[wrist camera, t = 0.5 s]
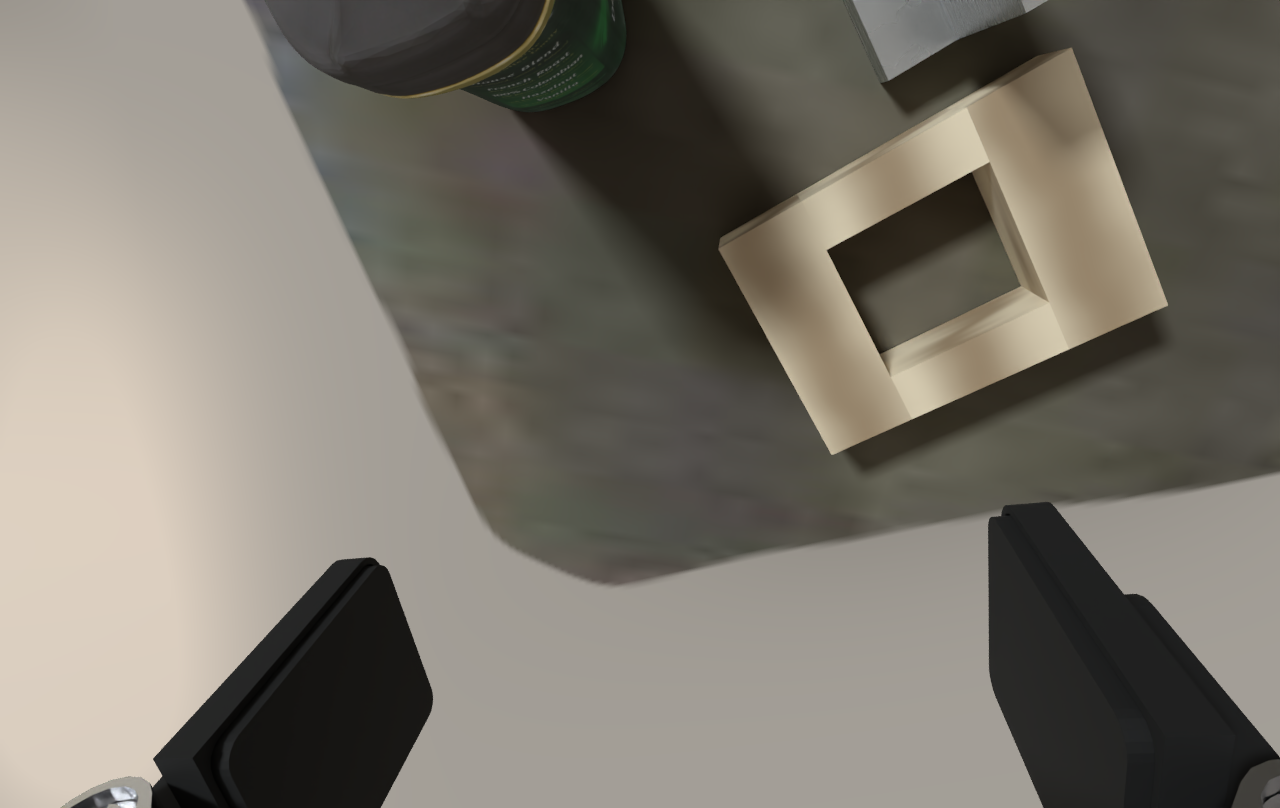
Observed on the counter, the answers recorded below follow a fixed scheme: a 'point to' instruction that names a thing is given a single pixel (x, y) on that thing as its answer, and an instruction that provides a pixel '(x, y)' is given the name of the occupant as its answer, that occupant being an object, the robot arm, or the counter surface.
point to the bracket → (923, 27)
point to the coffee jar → (461, 46)
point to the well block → (1024, 218)
